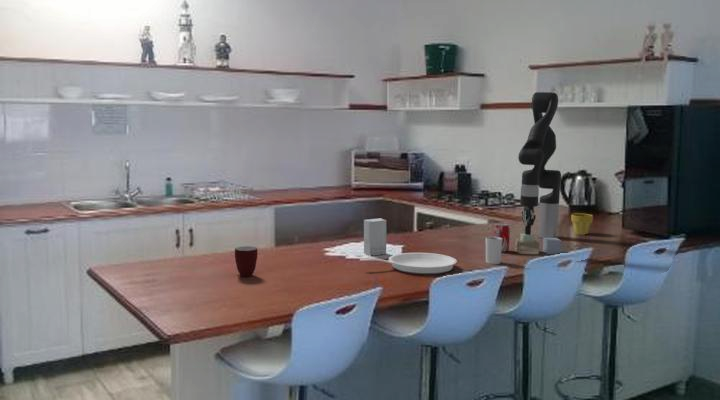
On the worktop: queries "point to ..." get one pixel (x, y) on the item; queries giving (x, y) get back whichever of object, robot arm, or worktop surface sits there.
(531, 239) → the green cap
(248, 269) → the mug
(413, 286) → the worktop surface
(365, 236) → the skincare box
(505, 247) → the soda can
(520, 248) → the button housing
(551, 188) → the robot arm
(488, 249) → the drinking glass
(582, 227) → the plant pot
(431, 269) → the pan
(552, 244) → the slate block
